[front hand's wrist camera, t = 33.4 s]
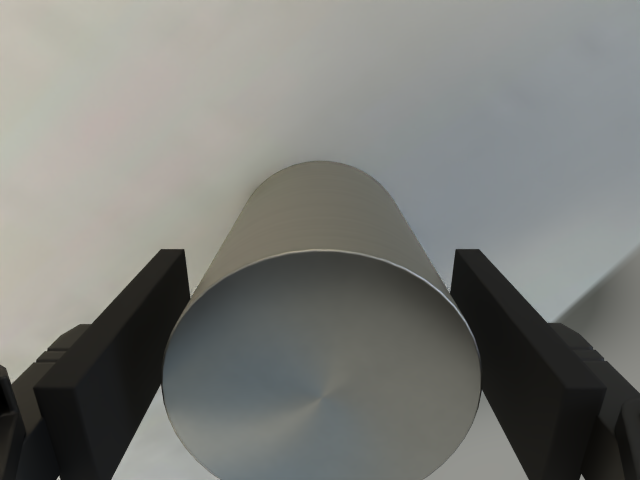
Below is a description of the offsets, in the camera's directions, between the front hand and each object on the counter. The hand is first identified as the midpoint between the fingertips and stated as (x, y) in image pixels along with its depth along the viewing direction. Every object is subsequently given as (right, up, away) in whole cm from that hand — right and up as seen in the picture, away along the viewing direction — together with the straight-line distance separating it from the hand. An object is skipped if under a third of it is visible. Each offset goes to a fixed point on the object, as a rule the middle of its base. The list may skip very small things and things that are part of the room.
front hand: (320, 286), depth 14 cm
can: (0, +1, +4) cm, 4 cm away
